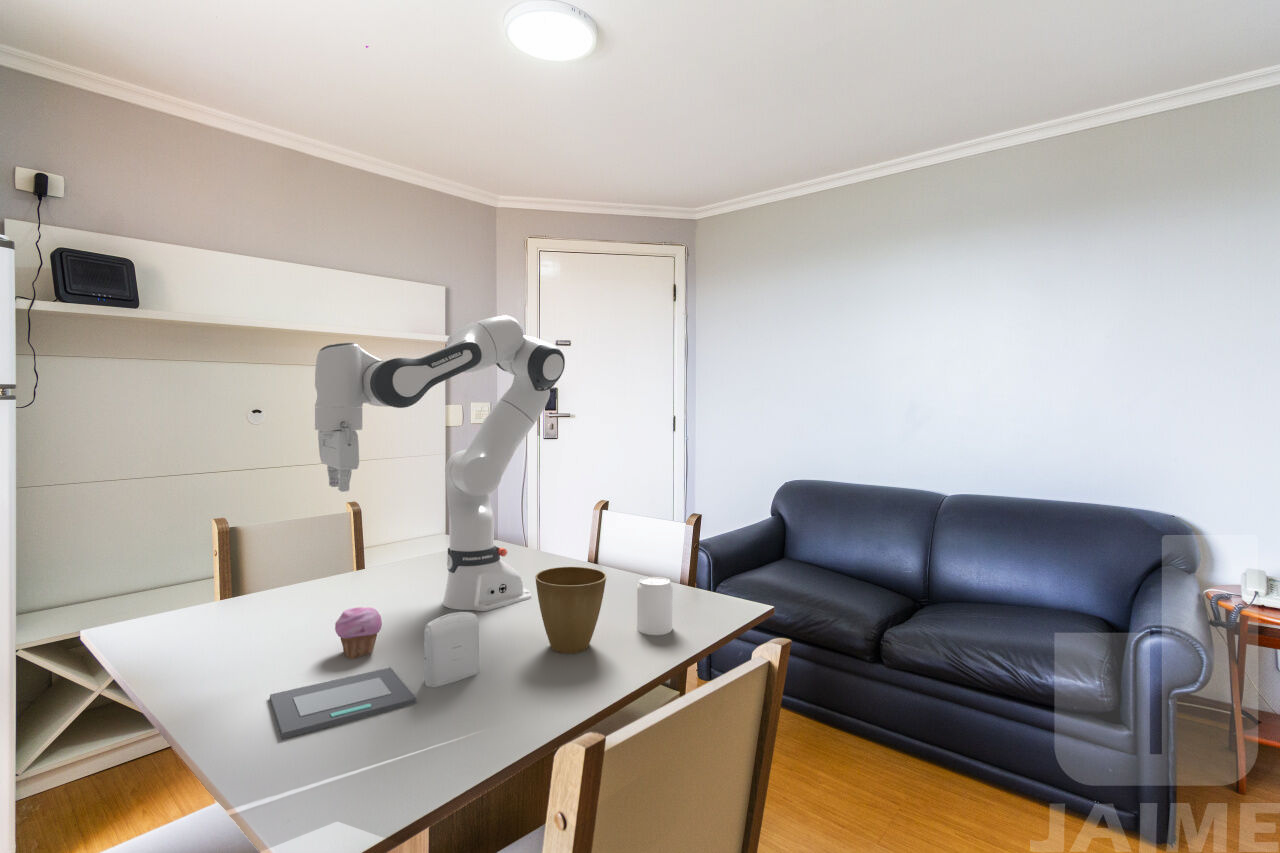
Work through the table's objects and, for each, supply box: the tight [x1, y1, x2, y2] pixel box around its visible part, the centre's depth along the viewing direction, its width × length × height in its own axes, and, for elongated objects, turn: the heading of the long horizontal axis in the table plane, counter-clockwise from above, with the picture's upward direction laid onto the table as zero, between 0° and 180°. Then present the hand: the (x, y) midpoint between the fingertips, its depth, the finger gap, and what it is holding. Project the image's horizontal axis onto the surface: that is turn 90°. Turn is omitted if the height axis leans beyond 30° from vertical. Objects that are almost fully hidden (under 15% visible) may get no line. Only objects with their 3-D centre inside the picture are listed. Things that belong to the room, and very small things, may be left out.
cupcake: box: [334, 606, 383, 660], centre depth 127 cm, size 9×9×10 cm
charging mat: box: [269, 667, 417, 740], centre depth 107 cm, size 20×16×1 cm
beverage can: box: [636, 576, 673, 636], centre depth 143 cm, size 8×8×12 cm
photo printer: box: [423, 611, 480, 688], centre depth 116 cm, size 10×4×12 cm, turn 132°
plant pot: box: [534, 566, 607, 655], centre depth 132 cm, size 15×15×16 cm
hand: (338, 488), depth 128 cm, fingers open, 8 cm apart
